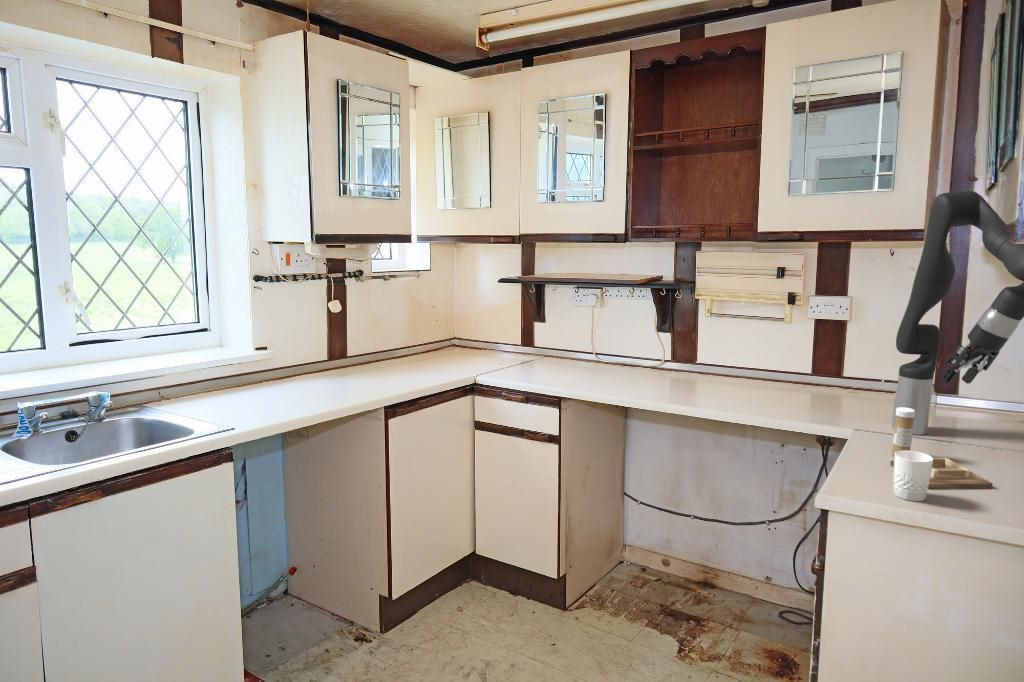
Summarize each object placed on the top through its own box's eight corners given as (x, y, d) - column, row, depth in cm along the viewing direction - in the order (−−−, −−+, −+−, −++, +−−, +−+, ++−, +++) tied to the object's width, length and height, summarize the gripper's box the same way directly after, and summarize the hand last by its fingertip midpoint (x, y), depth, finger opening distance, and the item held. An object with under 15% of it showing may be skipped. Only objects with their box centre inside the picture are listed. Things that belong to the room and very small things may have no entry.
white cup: (882, 491, 166) (886, 451, 164) (910, 488, 168) (914, 449, 166) (908, 504, 158) (912, 463, 156) (936, 501, 160) (941, 460, 158)
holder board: (890, 465, 183) (891, 453, 182) (949, 464, 183) (950, 453, 183) (927, 488, 167) (929, 476, 166) (992, 488, 167) (993, 475, 167)
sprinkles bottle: (893, 451, 193) (898, 405, 190) (912, 455, 190) (917, 408, 187) (889, 455, 190) (894, 409, 187) (907, 459, 187) (913, 412, 184)
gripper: (997, 321, 172) (959, 373, 180) (963, 318, 166) (925, 372, 174) (1025, 338, 166) (984, 390, 175) (990, 336, 160) (949, 390, 168)
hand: (954, 381), depth 174 cm, fingers open, 8 cm apart
